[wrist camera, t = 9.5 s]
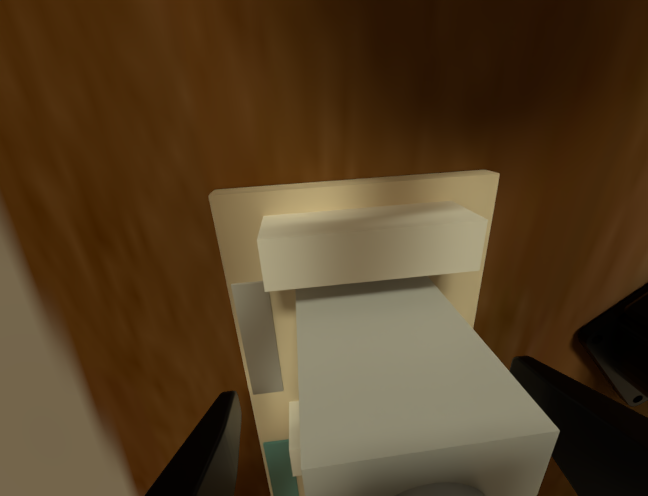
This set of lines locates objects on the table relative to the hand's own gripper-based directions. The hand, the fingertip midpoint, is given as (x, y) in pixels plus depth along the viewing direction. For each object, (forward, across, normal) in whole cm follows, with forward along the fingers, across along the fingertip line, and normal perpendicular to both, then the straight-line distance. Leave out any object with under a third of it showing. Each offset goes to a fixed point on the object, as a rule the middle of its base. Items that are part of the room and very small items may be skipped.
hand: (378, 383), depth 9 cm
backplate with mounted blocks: (+3, 0, +4) cm, 5 cm away
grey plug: (+2, 0, 0) cm, 2 cm away
